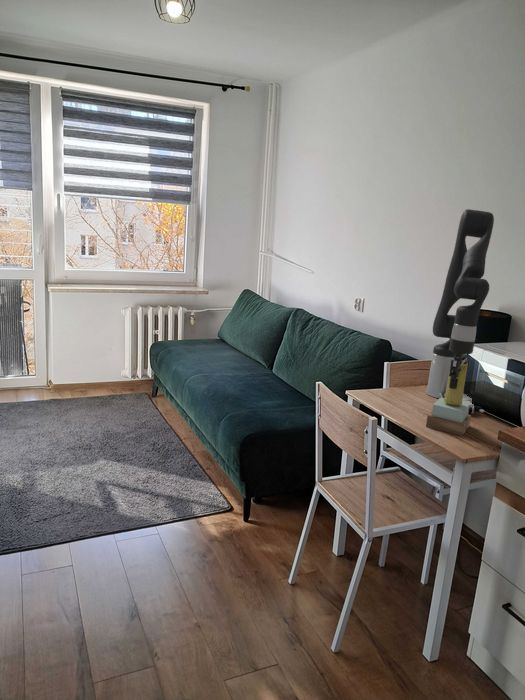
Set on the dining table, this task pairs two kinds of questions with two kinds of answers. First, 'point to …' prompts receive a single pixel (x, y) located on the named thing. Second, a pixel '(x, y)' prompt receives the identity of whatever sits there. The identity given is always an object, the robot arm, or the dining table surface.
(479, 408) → the robot toy
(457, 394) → the vase
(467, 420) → the bottom brick
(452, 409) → the top brick
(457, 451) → the dining table surface
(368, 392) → the dining table surface
